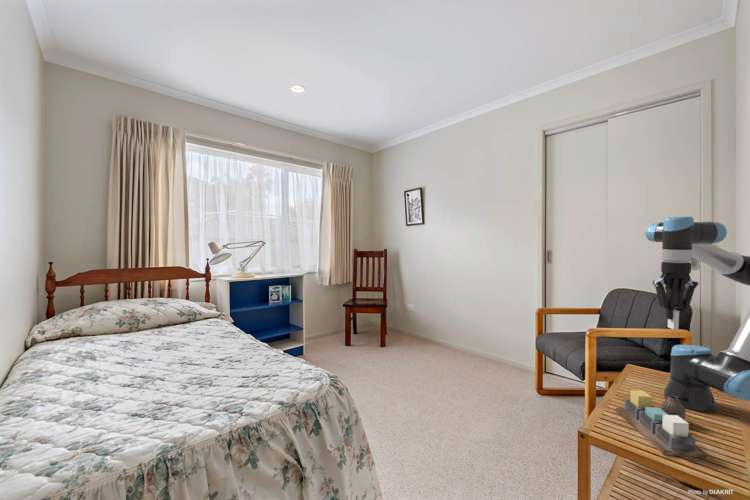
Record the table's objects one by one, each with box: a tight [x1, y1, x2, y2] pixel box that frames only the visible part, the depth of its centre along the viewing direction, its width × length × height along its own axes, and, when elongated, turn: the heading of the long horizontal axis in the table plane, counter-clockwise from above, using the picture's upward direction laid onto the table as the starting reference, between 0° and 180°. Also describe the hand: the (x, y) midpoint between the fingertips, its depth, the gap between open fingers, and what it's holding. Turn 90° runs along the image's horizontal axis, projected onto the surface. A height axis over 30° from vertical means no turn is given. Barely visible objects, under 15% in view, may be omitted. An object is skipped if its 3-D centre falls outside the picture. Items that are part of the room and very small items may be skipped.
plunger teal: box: [645, 406, 668, 421], centre depth 112 cm, size 4×4×5 cm
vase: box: [659, 396, 687, 420], centre depth 118 cm, size 7×7×9 cm
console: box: [615, 398, 707, 458], centre depth 112 cm, size 12×24×6 cm, turn 173°
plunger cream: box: [662, 415, 690, 437], centre depth 104 cm, size 4×4×5 cm
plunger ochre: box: [629, 389, 653, 408], centre depth 119 cm, size 4×4×5 cm
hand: (672, 328), depth 112 cm, fingers closed
